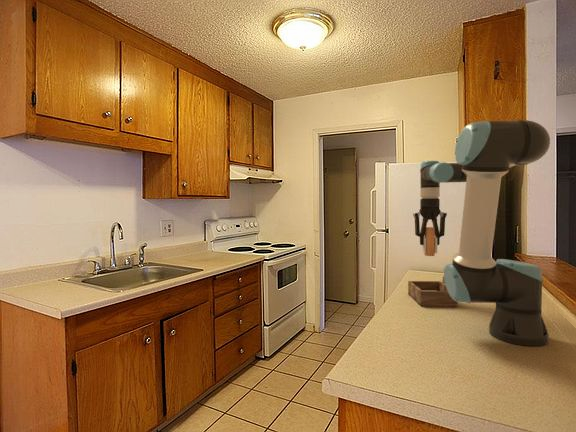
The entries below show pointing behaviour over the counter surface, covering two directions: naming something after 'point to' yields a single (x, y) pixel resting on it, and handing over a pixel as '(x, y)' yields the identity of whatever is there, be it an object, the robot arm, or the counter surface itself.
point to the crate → (430, 294)
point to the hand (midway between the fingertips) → (429, 252)
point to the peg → (430, 241)
